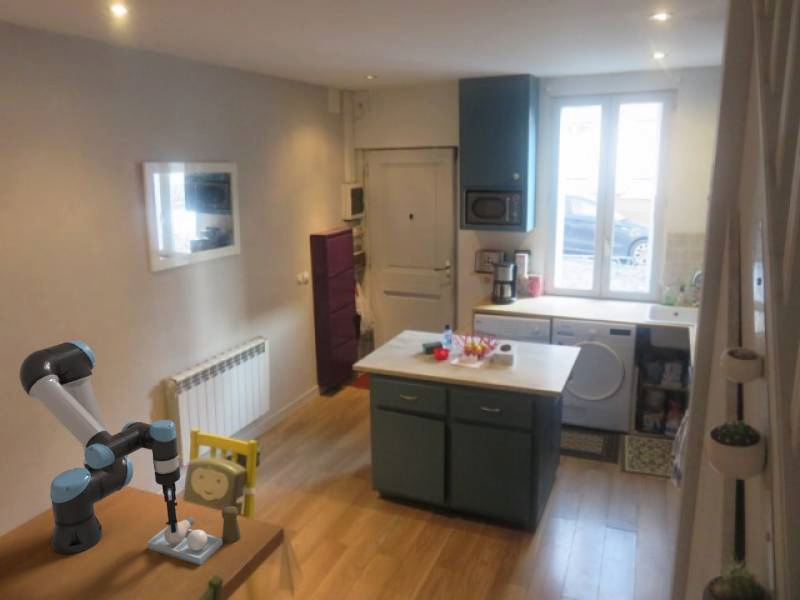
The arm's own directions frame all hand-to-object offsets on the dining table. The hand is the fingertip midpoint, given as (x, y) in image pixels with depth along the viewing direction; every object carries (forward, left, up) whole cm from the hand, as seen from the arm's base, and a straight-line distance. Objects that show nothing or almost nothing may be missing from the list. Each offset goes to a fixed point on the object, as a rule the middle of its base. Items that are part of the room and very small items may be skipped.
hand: (173, 532), depth 202 cm
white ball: (+9, +1, -4) cm, 10 cm away
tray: (+4, +1, -5) cm, 6 cm away
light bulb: (0, +3, -2) cm, 4 cm away
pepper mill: (+14, +11, -5) cm, 19 cm away
